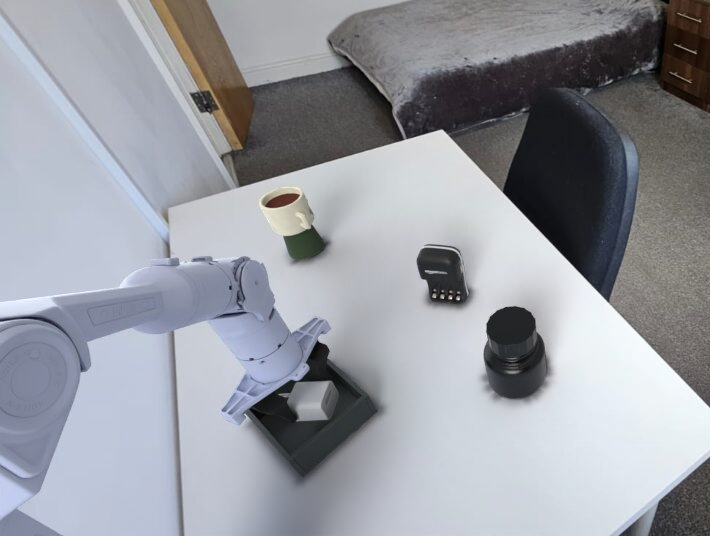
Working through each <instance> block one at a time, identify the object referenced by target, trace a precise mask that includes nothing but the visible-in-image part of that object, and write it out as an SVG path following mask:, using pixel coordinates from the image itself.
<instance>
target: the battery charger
mask: <svg viewBox="0 0 710 536" xmlns="http://www.w3.org/2000/svg"><path fill="white" fill-rule="evenodd" d="M416 267H417V271H418V274H419V278H420V279H421V280H422V281H426V284H427V289H428V296H429V299H430V301H432V302H435V303H445V304H453V305H454V304H455V305H459V304H460V305H461V304H462V303H464V302H466V300H467V298H468V297H469V293H470V291H469V287H468V281H467V276H466V269H465V264H464V258H463V255H462V253H461V251H460V249H459V248H458V247H456V246H454V245H453V246H452V245H445V244H434V243H427V244H424V245H423V246H422V247H421V248H420V249H419V253H418V255H417V257H416Z"/></svg>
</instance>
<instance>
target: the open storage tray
mask: <svg viewBox="0 0 710 536" xmlns="http://www.w3.org/2000/svg"><path fill="white" fill-rule="evenodd" d="M326 378H327V381H332V382H333V384H334V386H335V388H336V389H337V391H338V394H339V397H338V401H337V403H336V406H335V409H334V412H333V414H332V417H331V419H330V420H313V421H295V423H290V422H288V421H285V420H283V419H281V418H280V417H279V416H277V415H268V414H265V413H262V412H260V411H257V410H255V409H253V408H250V409H249V410H248V411H247V412H246V413H245V414H244V415H245V416H246V417H248V419H249V420H250V421H251V422H252V423H253V424H254V425H255V426H256V428H257V429H258V430H259V431H260V432H261V433H262V434H263V436H265V438H266V439H267V440H268V441H269V443H271V445H272V446H273V447H274V448H275V449H276V450H277V451H278V453H279V454H280V455H281V456H282V457H283V459H285V461H286V462H287V463H288V464H289V465H290V466H291V467H292V468H293V469H294V471H296V472H297V474H299V476H300V477H301V478H303V477H305V476H306V475H308V473H310V471H312V470H313V469H314V468H315V467H316V466H318V465H319V464H320V463H321V461H323V460H324V459H325V458H326V457H327V456H329V455H330V454H331V453H332V452H333V451H335V449H337V448H338V447H339V446H340V445H341V444H342V443H343V442H345V441H346V440H347V439H348V438H349V437H350V436H351V435H352V434H353V433H355V432H356V431H357V430H358V429H359V428H360V427H362V426H363V425H364V424H365V423H366V422H368V420H370V419H371V418H372V417H373V416H374V415H376V414H377V412H378V409H377V408H376V406H375V404H374V402H373V400H372V399H371V396H370V394H369V393H367V392H366V391H365V390H364V389H363V388H361V386H359V385H358V384H357V383H356V382H355V381H354V380H353V379H352V378H351V377H349V376H348V374H346V373H345V372H344V371H343V370H342V369H341V368H339V367H338V366H337V365H336V364H335V363H334V362H333V361H331V360H330V359H329V357H328V358H327V363H326ZM297 382H310V381H309V379H308V378H307V376H306V375H304V376H303V377H302V378H301V379H300V380H298V381H295V380H290V381H288V382H287V383H285V384H284V385H282V386H281V387H279V388H278V389H276V390H275V391H274V392H275V393H276V394H278V395H279V394H285V393H291V392H292V390H293V388H294V385H295V384H296V383H297ZM281 396H284V395H281ZM285 398H287V401H288V399H289V397H285Z"/></svg>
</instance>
